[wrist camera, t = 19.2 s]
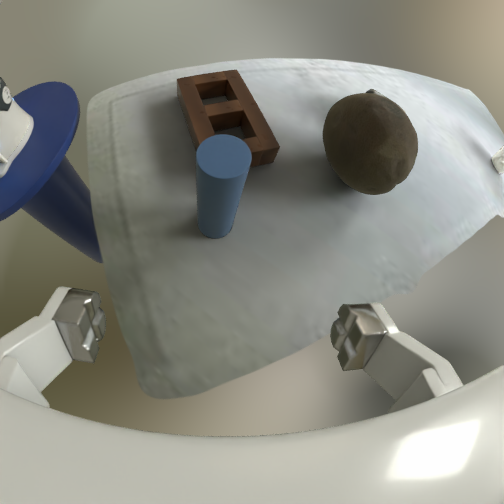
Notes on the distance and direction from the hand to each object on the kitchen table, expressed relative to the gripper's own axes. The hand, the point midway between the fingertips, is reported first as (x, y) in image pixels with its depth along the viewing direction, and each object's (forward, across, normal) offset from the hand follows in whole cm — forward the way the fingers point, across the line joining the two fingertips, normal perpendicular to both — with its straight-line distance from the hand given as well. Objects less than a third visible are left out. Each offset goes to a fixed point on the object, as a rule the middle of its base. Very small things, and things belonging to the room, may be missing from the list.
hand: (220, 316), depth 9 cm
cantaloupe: (+34, -20, +1) cm, 40 cm away
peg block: (+38, 0, -4) cm, 38 cm away
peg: (+26, 0, +8) cm, 27 cm away
